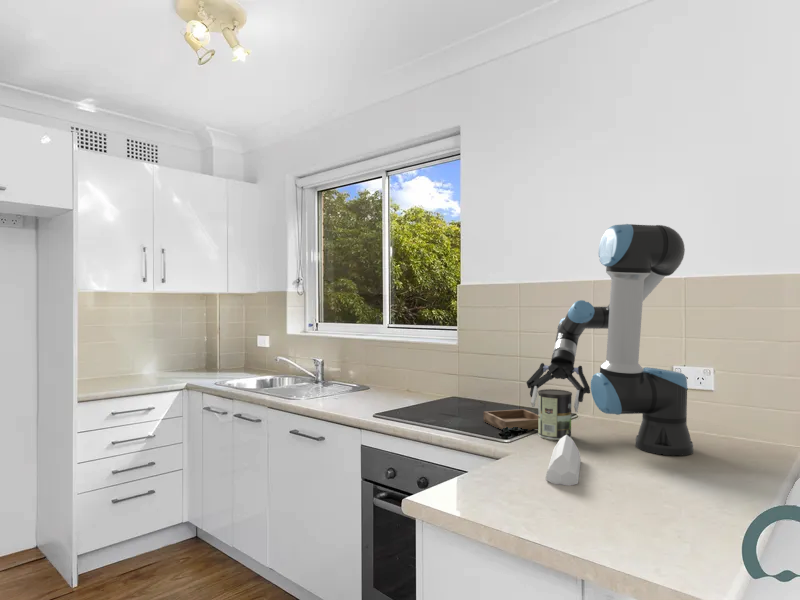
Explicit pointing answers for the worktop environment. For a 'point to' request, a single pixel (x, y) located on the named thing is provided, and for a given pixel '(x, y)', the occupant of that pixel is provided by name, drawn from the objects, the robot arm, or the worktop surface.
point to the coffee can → (554, 414)
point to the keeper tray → (511, 419)
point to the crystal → (564, 463)
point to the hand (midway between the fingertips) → (553, 407)
